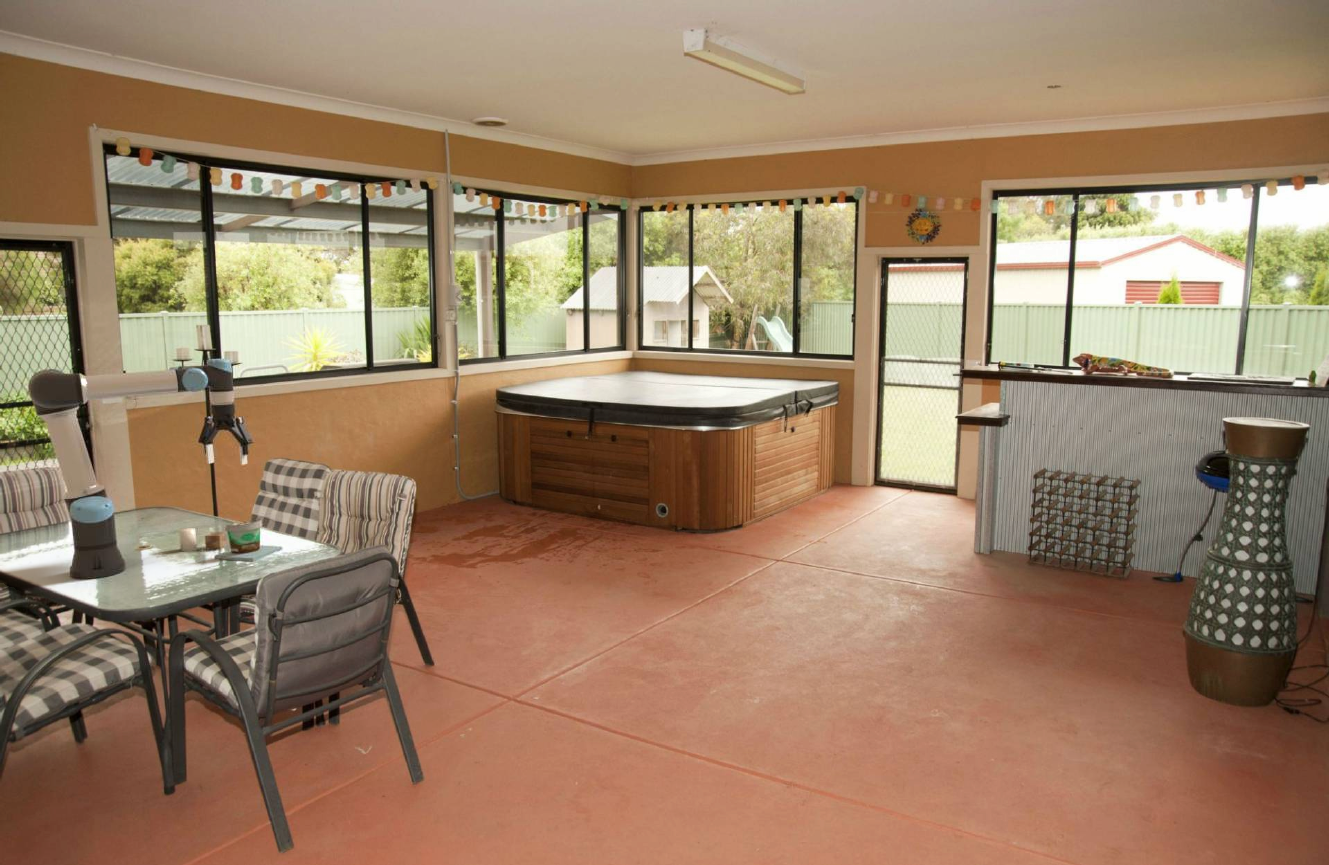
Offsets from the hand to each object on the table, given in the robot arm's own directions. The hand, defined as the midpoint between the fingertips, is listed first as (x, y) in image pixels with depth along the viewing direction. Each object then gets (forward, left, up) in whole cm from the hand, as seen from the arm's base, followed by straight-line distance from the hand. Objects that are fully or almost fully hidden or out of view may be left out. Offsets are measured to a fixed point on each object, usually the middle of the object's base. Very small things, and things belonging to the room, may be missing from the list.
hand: (227, 463), depth 325 cm
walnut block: (-2, -6, -29) cm, 29 cm away
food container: (+15, -11, -28) cm, 34 cm away
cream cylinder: (-10, -10, -29) cm, 32 cm away
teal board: (+15, -11, -29) cm, 34 cm away
